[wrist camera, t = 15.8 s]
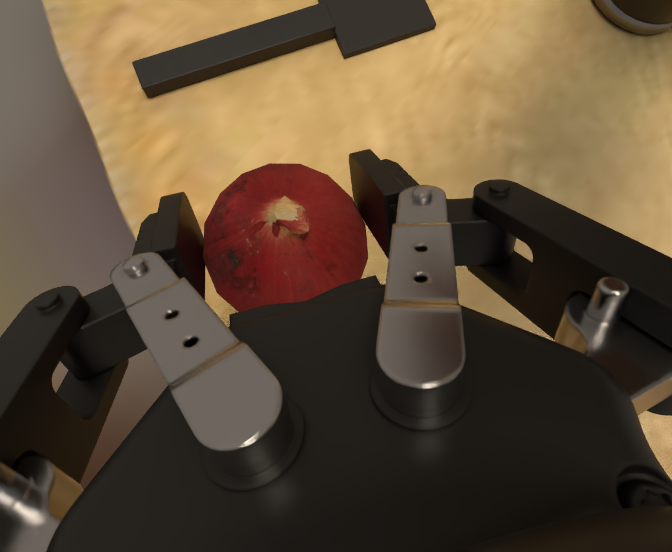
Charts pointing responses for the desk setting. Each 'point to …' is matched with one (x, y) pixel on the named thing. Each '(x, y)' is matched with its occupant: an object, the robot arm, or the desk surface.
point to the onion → (283, 237)
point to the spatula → (286, 39)
